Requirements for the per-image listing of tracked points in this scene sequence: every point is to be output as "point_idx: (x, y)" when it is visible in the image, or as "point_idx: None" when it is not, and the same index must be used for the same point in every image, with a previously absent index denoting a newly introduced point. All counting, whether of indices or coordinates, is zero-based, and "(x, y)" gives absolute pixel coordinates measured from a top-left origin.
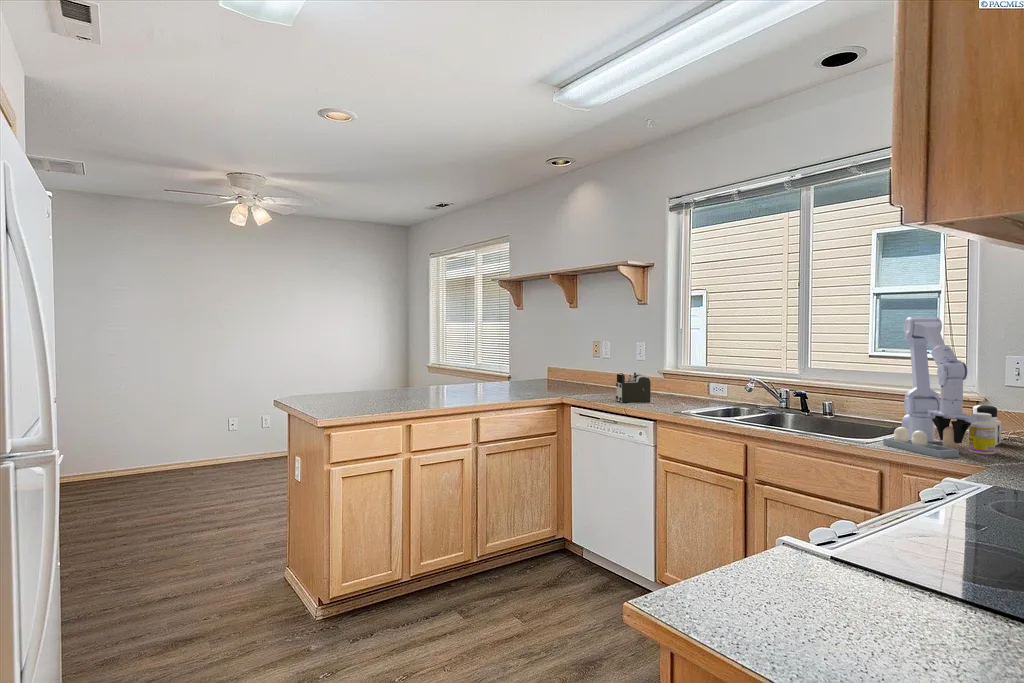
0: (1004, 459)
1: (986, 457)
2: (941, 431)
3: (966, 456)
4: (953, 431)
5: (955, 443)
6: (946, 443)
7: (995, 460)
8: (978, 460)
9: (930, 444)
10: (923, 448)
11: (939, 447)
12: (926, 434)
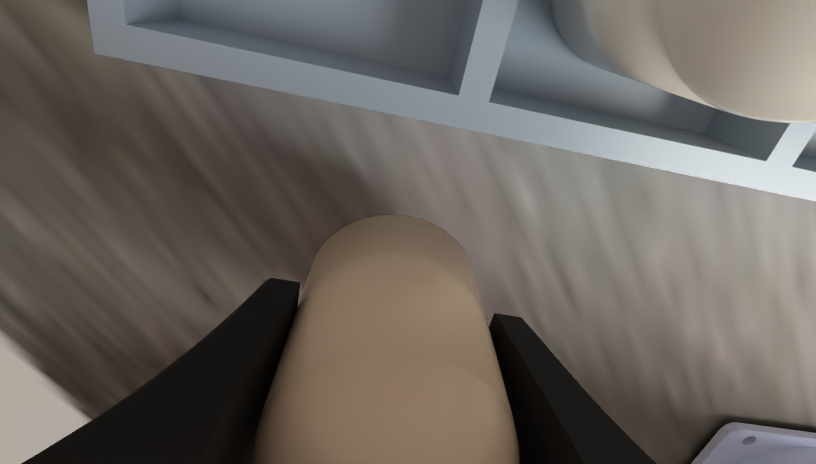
0: (41, 369)
1: (139, 329)
2: (544, 426)
3: (221, 222)
4: (279, 445)
5: (303, 291)
6: (398, 241)
7: (5, 275)
8: (15, 125)
9: (572, 120)
10: None
11: (419, 83)
12: (733, 12)
